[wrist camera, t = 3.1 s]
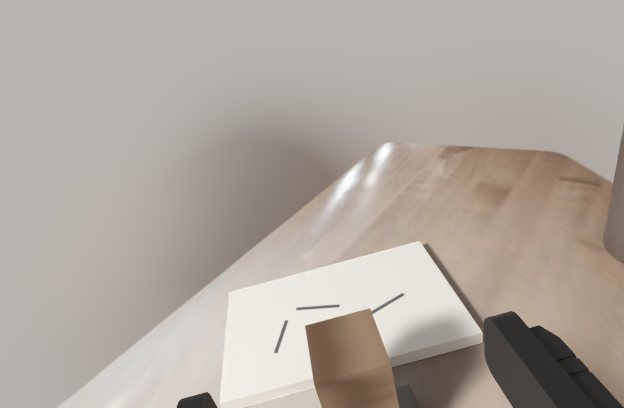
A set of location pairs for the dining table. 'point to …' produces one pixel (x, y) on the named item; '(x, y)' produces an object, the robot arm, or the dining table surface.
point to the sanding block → (353, 364)
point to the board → (333, 303)
